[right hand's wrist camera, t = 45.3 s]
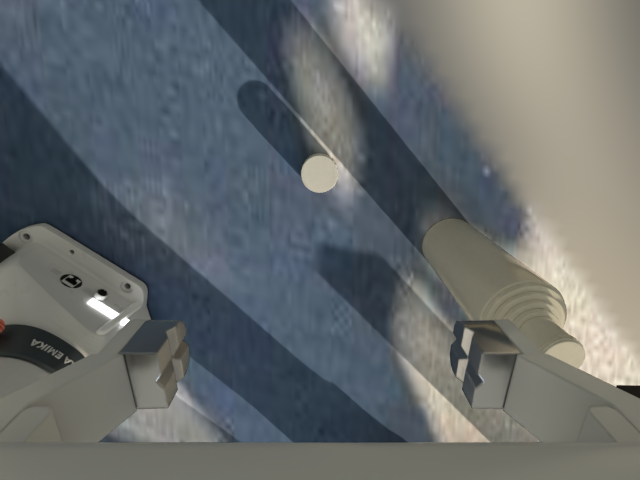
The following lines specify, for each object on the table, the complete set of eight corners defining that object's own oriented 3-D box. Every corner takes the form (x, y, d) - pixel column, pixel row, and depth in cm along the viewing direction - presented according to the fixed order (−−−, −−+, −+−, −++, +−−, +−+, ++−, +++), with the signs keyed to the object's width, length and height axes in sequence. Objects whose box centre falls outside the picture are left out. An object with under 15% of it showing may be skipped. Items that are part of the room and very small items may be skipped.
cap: (295, 177, 41) (293, 181, 39) (313, 145, 40) (312, 147, 37) (325, 194, 42) (326, 199, 40) (344, 164, 41) (345, 167, 38)
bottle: (487, 235, 44) (638, 345, 23) (452, 277, 46) (562, 412, 25) (444, 208, 42) (564, 298, 22) (411, 252, 44) (490, 372, 24)
